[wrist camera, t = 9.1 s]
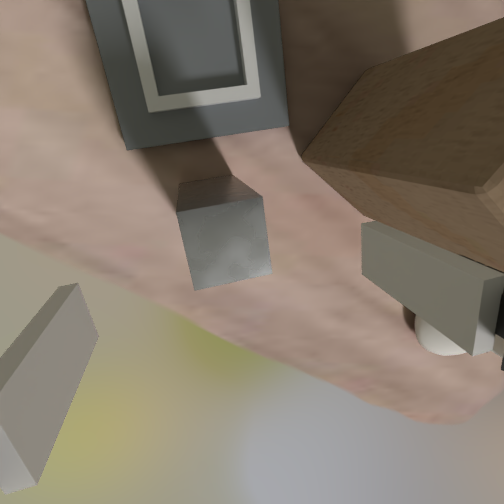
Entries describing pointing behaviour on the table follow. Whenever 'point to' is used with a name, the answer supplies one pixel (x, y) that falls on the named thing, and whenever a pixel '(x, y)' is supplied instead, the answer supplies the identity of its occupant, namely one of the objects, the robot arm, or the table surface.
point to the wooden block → (426, 144)
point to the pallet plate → (191, 67)
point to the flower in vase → (445, 340)
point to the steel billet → (223, 231)
